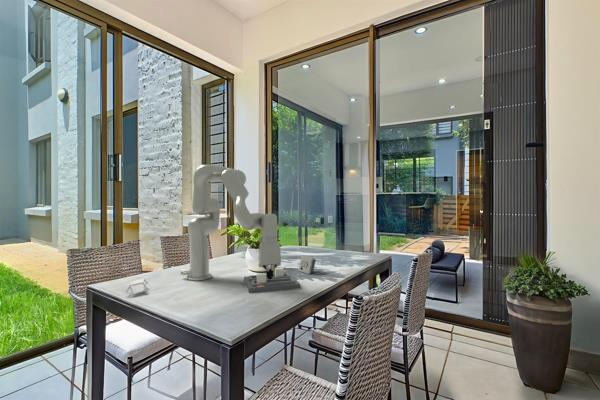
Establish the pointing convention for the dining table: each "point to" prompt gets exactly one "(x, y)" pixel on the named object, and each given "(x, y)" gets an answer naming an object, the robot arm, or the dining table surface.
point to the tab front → (261, 278)
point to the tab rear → (279, 271)
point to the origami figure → (137, 284)
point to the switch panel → (271, 283)
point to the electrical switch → (306, 264)
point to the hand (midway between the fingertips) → (269, 278)
